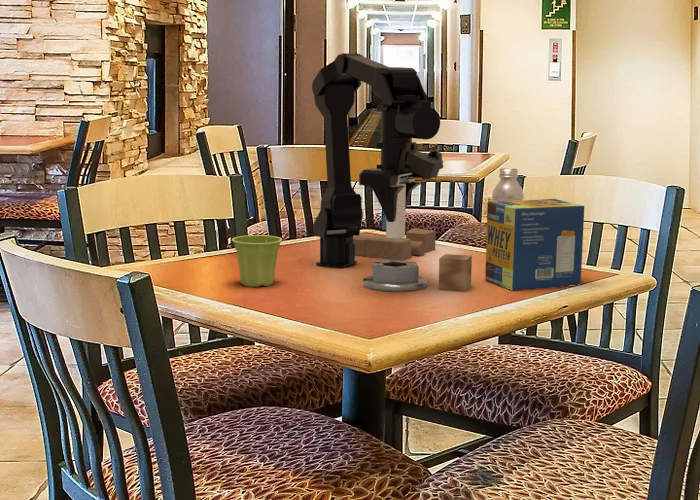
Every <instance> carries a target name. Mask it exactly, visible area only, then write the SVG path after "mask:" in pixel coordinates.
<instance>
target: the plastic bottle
mask: <svg viewBox="0 0 700 500" xmlns="http://www.w3.org/2000/svg"><path fill="white" fill-rule="evenodd" d="M518 170H519V169H517V168H511V167H510V168H508V167H507V168H505V167H503V168H499V174H498V177H499V179H500V180H499V182H498V183H497V184H496V185H495V187H494V189H493V192H492V193H491V194H492V195H491V196H492V202H499V201H521V200H524V198H525V197H524V196H525V194H524V189H523V188H522V187H521V184H520V183H519V182H518V180H517V179H519V175H518Z"/></svg>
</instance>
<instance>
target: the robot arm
mask: <svg viewBox="0 0 700 500" xmlns="http://www.w3.org/2000/svg"><path fill="white" fill-rule="evenodd" d="M362 83H365V84H367V85H369V86H371V87H372V92H373V93H374V94H375V95H376V96H378V98H380V99H381V100H382V102H380V103H379V104H378V105H377V107H376V109H375V110H376V111H378V112H380V113H381V115H380V116H381V117H380V118H381V119H380V121H381V122H380V123H381V124H380V125H381V128H380V141H379V142H378V141H377V142H376V149H380V163H379V164H376V167H375V168H367V169H363V170H361V172H360V173H359V174H358V185H359V186H369V188H370V189H371V190H372V191H373V193H374V195H375V197H376V199H377V201H378V203H379V205H380V207H381V209H382V212H383V214H384V216H385V219H386V218H387V221H388V222H394V218H395V212H396V204H397V196H398V193H399V192H400V191H401V190H402V189H403V188H404V187H405V186H401V185H399V183H405V184H406V199H405V211H406V210H407V206H408V203H409V201H410V197H411V194H412V192H413V190H415V189H416V188H417V187H418V186H420V185H421V184H422V181H416V179H422V180H431V179H432V178H433V179H434V178H435V179H436V178H438V175H439V172H440V170H441V169H443V168H444V164H443V163H444V160H443V154H442V152H440V151H438V150H431V151H430V152H428V153H426V152H422V151H419V150H418V144H417V142H416V141H413V139H416V140H417V139H418V140H425V141H426V140H430V139H433V138H434V137H435V136H437V134H438V132H439V130H440V127H441V118H440V116H439V115H438V113H437V111H436V110H435V109H434V108H432V107H431V105H432V102H431V100H428V99H427V97H428V95H427V94H426V91H425V90H424V87H423V84H422V83H421V79H420V77H419V75H418V72H417V71H416V69H415V68H413V67H402V66H400V67H398V66H397V67H394V66H388V65H385V64H382V63H380V62H377V61H375V60H373V59H370V58H368V57H365V56H364V55H363V54H360V53H349V52H348V53H345V52H344V53H343V52H342V53H340V54H338V55H337V56H336V57H335V59H334V60H333V61H332V62H330V63H328V64H327V65H325V66H324V67H322V68H321V69H320V70H319V71H318V72H317V74H316V75H315V77H314V78H313V80H312V83H311V91H312V94H313V97H314V105H315V107H316V109H318V111H319V112H320V114H321V116H322V117H323V124H324V125H323V127H324V130H323V131H324V145H325V163H326V177H327V178H326V182H327V187H326V190H325V192H324V194H323V195H322V198H321V199H320V210H319V212H318V214H317V216H316V218H315V220H314V223H313V224H312V231H313V236H315V237H319V261H318V262H315V266H321V267H322V266H323V267H331V268H332V267H333V268H347V267H348V266H353V265H355V264H357V263H358V262H357V260H356V256H355V243H353V235H356V236H358V235H361V234H360V233H361V228H362V222H363V217H364V214H363V213H364V210H363V207H362V206H363V205H362V200H363V199H362V196H361V194H360V193H356V191H355V189H354V188H353V187H352V177H351V158H350V156H351V155H350V153H351V152H350V138H349V137H350V136H349V135H350V134H349V121H348V115H349V113H350V112H351V110H352V108H353V106H354V104H355V100H356V99H355V93H356V92H357V91H358V90H359V88H360V87H361V85H362Z"/></svg>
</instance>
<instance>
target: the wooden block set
mask: <svg viewBox="0 0 700 500" xmlns="http://www.w3.org/2000/svg"><path fill="white" fill-rule="evenodd" d="M436 232H437V231H436V230H432V229H431V230H429V229H424V228H416V227H414V228H411V229H409V230H408V231H405V238H387V237H386V235H385V236H381V235H374V236H373V235H362V234H359V235H358V236H356V235H353V243H355V257H365V258H368V259H369V258H370V259H371V258H372V259H380V260H382V259H383V260H401V261H407V260H409V259H411V258H412V256H414V257H415V256H418V257H422V256H424V255H425V254H428V253H430V252H433V251H436V234H437V233H436Z"/></svg>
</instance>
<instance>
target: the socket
mask: <svg viewBox="0 0 700 500" xmlns="http://www.w3.org/2000/svg"><path fill="white" fill-rule="evenodd" d="M419 273H420V272H419V264H418V263H417V261H410V260H409V261H408V260H403V261H401V260H388V259H385V260H380V261H378V260H377V261H372V262H371V275H368V276H366V277H363V279H362V286H363V287H364V288H366V289H369V290H373V291H378V292H379V291H380V292H393V293H394V292H395V293H396V292H398V293H401V292H404V293H405V292H413V291H419V290H422V289H423V290H424V289H425V288H427V284H428V280H427V278H425V277H422V276H419Z"/></svg>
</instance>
